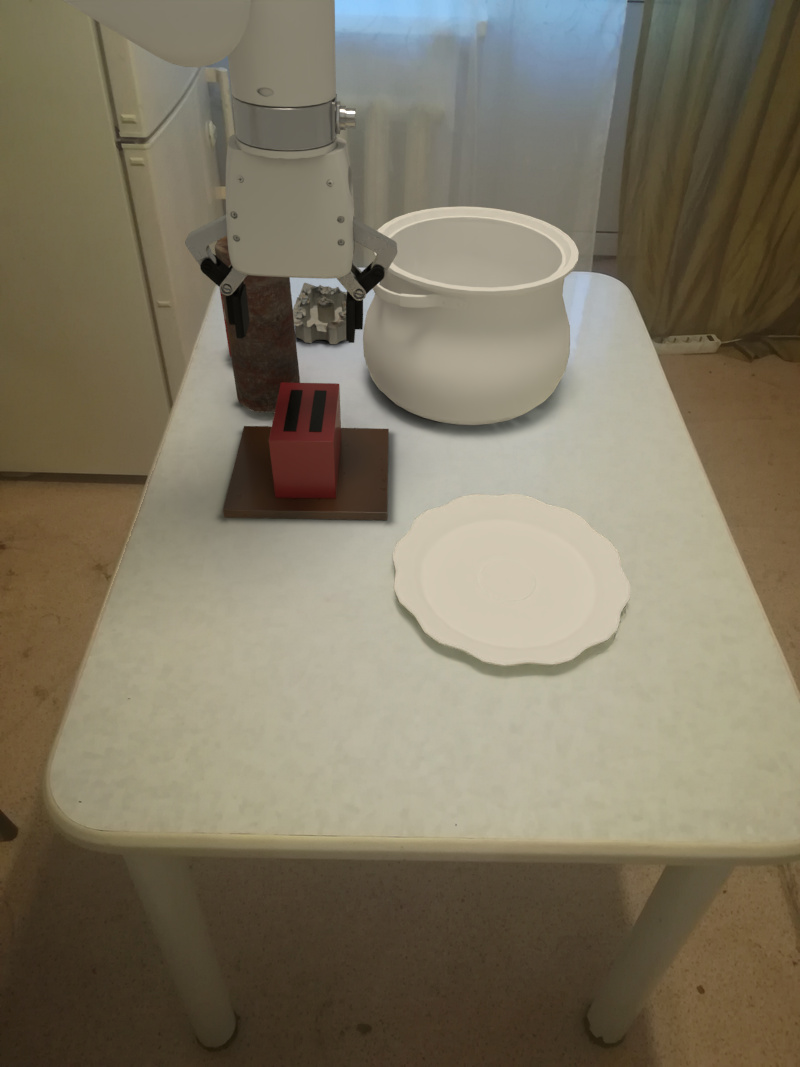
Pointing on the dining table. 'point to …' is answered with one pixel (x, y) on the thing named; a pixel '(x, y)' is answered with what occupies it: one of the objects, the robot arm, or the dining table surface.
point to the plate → (510, 579)
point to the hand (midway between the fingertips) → (297, 333)
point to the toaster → (306, 440)
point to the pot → (470, 314)
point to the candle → (263, 340)
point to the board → (355, 498)
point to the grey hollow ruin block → (320, 314)
